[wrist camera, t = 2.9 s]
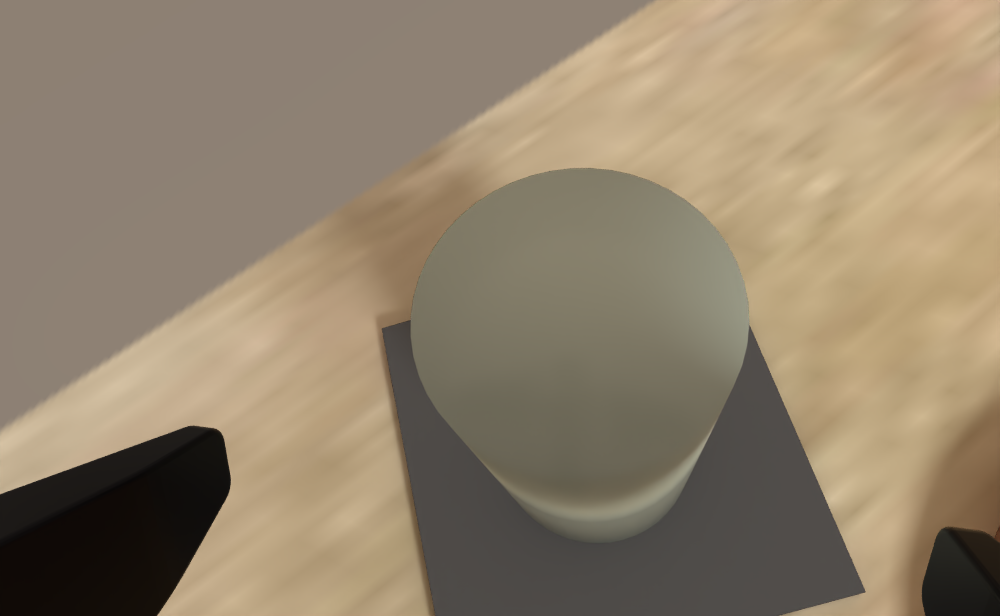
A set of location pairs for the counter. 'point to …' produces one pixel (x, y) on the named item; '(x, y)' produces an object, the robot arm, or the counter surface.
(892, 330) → the counter surface
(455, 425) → the sage canister
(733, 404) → the rubber mat
